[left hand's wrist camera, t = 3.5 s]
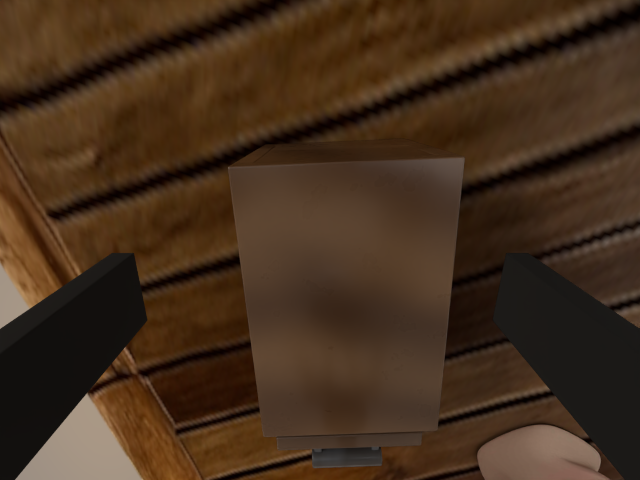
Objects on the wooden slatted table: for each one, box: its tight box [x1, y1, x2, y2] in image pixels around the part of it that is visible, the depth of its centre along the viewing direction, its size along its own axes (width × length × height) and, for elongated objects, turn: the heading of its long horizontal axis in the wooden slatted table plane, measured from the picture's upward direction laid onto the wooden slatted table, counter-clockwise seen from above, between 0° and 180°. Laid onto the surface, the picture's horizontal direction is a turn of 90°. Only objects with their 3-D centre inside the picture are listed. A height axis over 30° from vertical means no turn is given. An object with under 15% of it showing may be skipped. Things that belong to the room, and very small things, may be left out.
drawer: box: [277, 431, 422, 468], centre depth 27 cm, size 22×10×10 cm, turn 2°
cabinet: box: [228, 139, 465, 437], centre depth 25 cm, size 17×11×12 cm, turn 2°
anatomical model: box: [477, 425, 610, 480], centre depth 38 cm, size 13×4×12 cm
